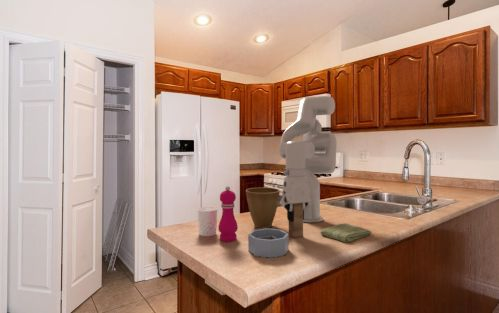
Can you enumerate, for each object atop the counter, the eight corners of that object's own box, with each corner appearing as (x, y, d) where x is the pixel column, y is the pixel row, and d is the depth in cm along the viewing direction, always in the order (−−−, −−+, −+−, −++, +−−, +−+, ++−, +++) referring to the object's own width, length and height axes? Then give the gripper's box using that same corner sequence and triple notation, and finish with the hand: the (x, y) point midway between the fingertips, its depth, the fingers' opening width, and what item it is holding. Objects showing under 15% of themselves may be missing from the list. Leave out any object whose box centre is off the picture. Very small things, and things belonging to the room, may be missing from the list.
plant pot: (240, 224, 127) (240, 188, 127) (268, 220, 134) (268, 186, 134) (256, 233, 114) (255, 193, 114) (286, 227, 121) (286, 190, 120)
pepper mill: (227, 235, 112) (227, 184, 111) (241, 238, 107) (241, 186, 106) (214, 239, 106) (213, 186, 105) (228, 243, 101) (227, 188, 101)
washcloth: (373, 235, 111) (373, 227, 111) (347, 245, 100) (347, 236, 100) (344, 228, 121) (344, 220, 121) (317, 236, 111) (317, 227, 111)
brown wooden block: (288, 235, 111) (288, 197, 110) (297, 233, 112) (297, 196, 112) (294, 238, 107) (294, 198, 107) (303, 236, 109) (303, 197, 108)
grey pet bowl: (244, 247, 98) (243, 231, 97) (275, 242, 103) (275, 227, 103) (260, 260, 86) (260, 242, 86) (294, 253, 91) (294, 236, 91)
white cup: (198, 237, 109) (198, 211, 108) (196, 231, 116) (196, 207, 116) (219, 235, 111) (218, 210, 110) (216, 230, 118) (215, 206, 118)
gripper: (282, 175, 102) (282, 225, 103) (319, 173, 109) (319, 220, 110) (271, 173, 109) (272, 220, 110) (307, 171, 116) (307, 215, 117)
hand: (295, 219), depth 110 cm, fingers closed on brown wooden block, 4 cm apart
